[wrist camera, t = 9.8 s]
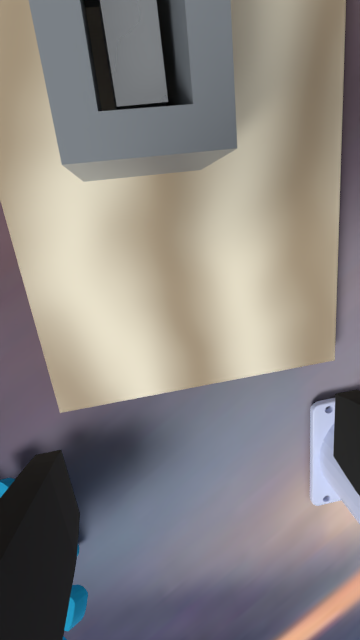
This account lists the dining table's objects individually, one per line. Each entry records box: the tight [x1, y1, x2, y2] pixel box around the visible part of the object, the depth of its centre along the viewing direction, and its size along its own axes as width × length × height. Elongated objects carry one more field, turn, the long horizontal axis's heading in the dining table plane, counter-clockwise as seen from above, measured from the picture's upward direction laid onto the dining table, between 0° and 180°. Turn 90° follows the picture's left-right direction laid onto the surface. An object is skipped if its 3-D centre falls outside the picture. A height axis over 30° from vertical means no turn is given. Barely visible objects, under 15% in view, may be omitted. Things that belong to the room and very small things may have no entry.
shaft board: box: [0, 0, 346, 413], centre depth 15 cm, size 15×20×1 cm
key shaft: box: [98, 0, 168, 110], centre depth 11 cm, size 2×4×4 cm, turn 7°
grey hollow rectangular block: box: [29, 0, 237, 182], centre depth 11 cm, size 5×7×5 cm
